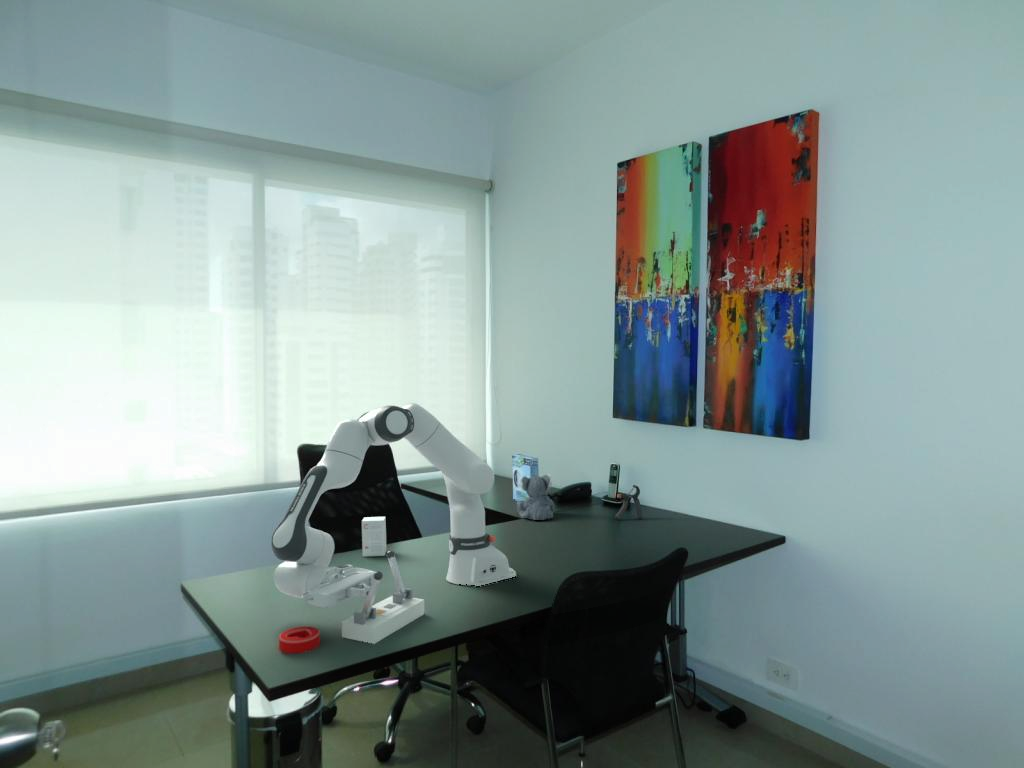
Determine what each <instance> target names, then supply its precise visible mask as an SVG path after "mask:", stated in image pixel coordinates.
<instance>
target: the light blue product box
mask: <svg viewBox="0 0 1024 768" xmlns="http://www.w3.org/2000/svg"><path fill="white" fill-rule="evenodd" d="M511 458H512V461H511V463H512V465H511V466H512V499H513V500H514V499H515V500H514V501H516V502H518V501H519V500H523V501H525V499H526V498H527V497H529V496H528V495H527V492H526V491H523V489H522V488H521V487H520V484H519V483H520V481H519V478H520V477H522V476H523V477H524V476H525V477H527V478H530V477H532V476H539V475H540V474H539V471H540V470H539V458H537V457H533V456H529V455H524V454H520V453H519V454H512V455H511Z"/></svg>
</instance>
